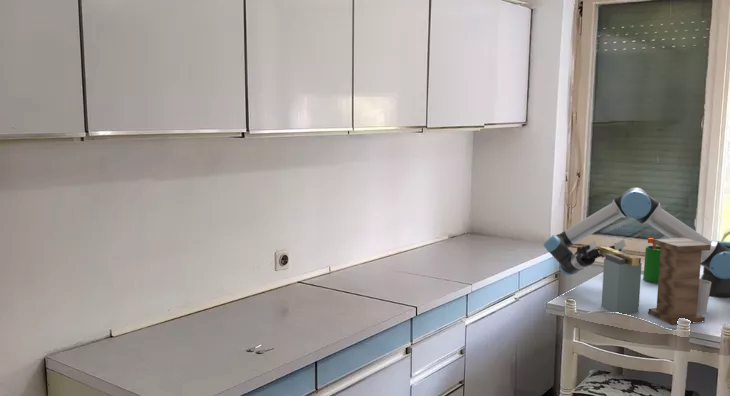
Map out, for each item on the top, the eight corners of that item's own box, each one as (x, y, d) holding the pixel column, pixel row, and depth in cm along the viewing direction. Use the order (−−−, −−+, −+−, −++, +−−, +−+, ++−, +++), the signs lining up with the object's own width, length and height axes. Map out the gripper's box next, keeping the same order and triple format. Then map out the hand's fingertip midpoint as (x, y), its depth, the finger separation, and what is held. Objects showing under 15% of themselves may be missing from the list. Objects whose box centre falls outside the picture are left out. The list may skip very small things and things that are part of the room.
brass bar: (599, 253, 271) (599, 246, 271) (605, 253, 272) (605, 246, 272) (631, 265, 250) (632, 258, 250) (638, 265, 251) (639, 257, 250)
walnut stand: (648, 313, 256) (653, 239, 252) (678, 311, 259) (684, 237, 255) (672, 324, 242) (678, 246, 238) (704, 322, 245) (710, 244, 241)
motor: (666, 283, 300) (669, 241, 297) (645, 282, 302) (648, 240, 299) (660, 278, 310) (663, 237, 307) (641, 277, 312) (643, 236, 309)
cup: (682, 307, 264) (684, 278, 262) (701, 307, 264) (703, 278, 263) (694, 313, 256) (696, 284, 254) (713, 313, 257) (715, 283, 255)
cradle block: (601, 306, 264) (604, 254, 261) (623, 305, 267) (626, 252, 264) (616, 314, 255) (619, 259, 252) (638, 312, 257) (641, 258, 254)
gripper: (610, 265, 287) (638, 250, 268) (559, 268, 281) (584, 253, 262) (606, 249, 290) (633, 233, 270) (555, 251, 284) (580, 236, 265)
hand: (609, 243), depth 266 cm, fingers open, 13 cm apart
